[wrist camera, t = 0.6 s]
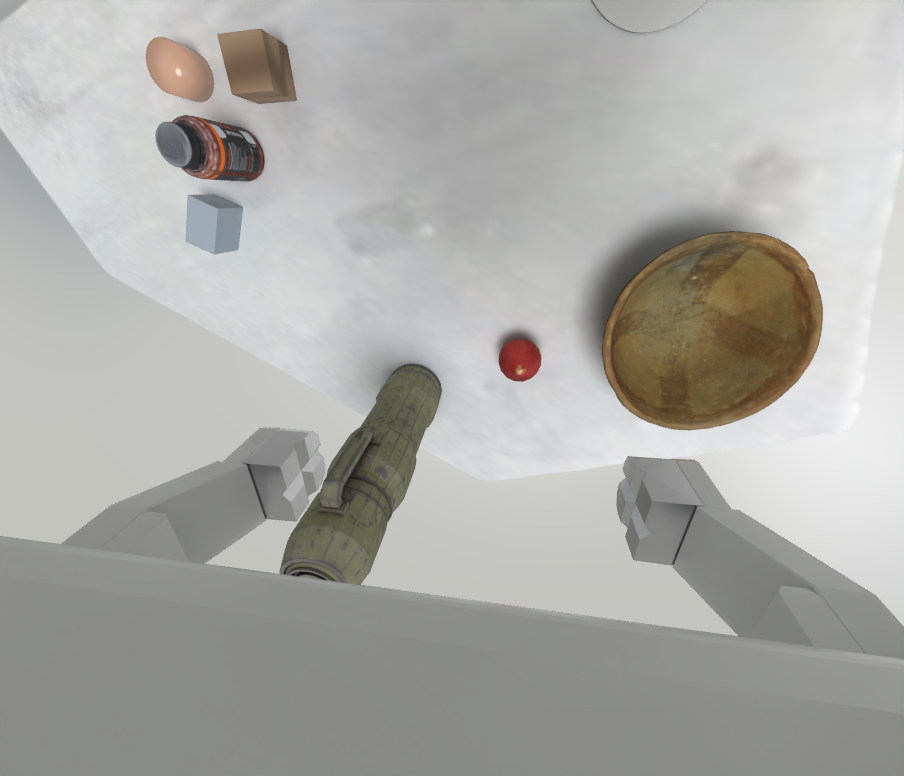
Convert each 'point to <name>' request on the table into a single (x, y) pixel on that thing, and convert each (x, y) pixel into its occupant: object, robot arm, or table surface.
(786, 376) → the bowl
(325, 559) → the thermos
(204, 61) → the peach rounded cylinder
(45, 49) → the table surface
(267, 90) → the walnut cube
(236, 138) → the supplement bottle
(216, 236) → the slate block
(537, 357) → the onion
